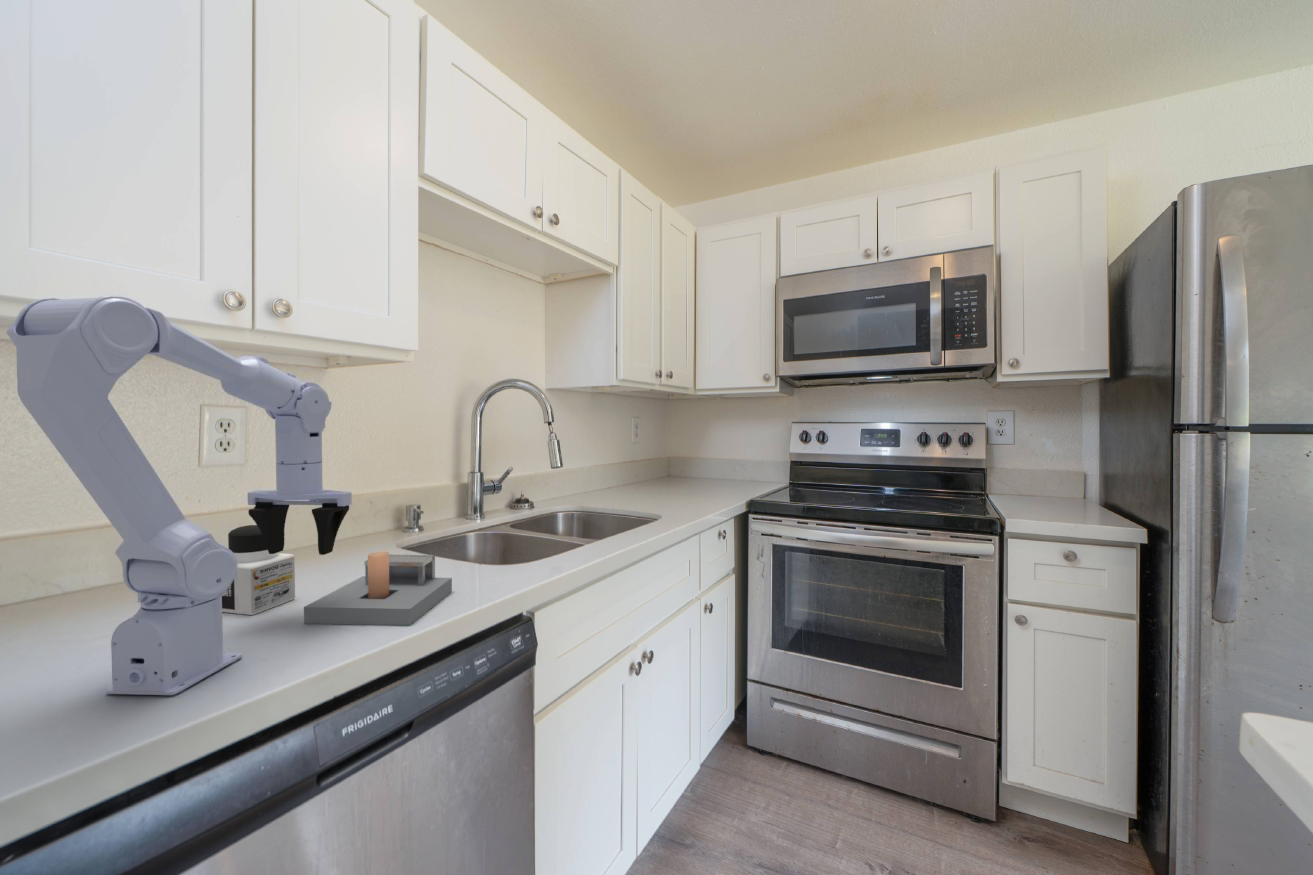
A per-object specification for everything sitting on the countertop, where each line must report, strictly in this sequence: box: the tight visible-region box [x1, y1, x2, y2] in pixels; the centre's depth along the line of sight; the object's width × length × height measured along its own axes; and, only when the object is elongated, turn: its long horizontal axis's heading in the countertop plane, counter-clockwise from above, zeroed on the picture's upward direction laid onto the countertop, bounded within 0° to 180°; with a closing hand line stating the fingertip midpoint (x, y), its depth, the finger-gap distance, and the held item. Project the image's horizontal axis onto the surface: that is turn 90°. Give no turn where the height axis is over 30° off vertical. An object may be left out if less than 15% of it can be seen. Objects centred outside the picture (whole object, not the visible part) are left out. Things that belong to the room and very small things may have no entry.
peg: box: [367, 551, 390, 599], centre depth 83 cm, size 3×3×9 cm
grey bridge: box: [363, 553, 436, 586], centre depth 90 cm, size 4×10×4 cm, turn 89°
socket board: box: [303, 575, 453, 626], centre depth 85 cm, size 15×16×2 cm
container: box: [222, 524, 296, 616], centre depth 85 cm, size 8×8×13 cm
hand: (301, 552), depth 78 cm, fingers open, 7 cm apart
